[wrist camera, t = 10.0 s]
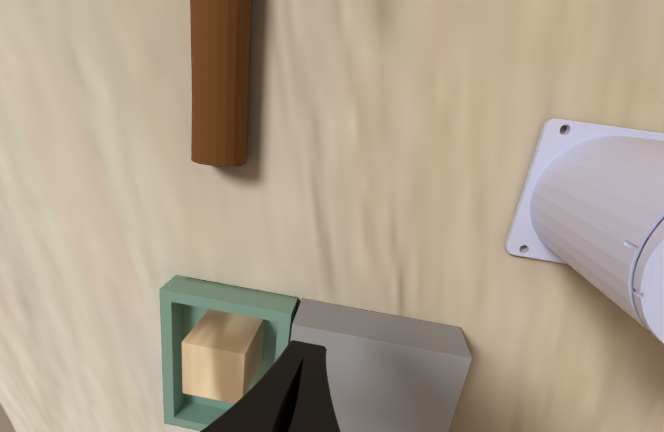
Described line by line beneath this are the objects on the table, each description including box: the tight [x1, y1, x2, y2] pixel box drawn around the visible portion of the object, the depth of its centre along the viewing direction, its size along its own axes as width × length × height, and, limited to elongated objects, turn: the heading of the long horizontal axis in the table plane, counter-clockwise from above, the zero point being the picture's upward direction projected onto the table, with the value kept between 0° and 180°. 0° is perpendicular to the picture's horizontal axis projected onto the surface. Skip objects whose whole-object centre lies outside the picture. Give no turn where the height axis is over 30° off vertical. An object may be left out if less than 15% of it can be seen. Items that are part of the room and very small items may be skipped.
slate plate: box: [290, 298, 472, 432], centre depth 24 cm, size 11×12×3 cm
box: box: [160, 275, 298, 431], centre depth 25 cm, size 9×12×2 cm
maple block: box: [182, 309, 265, 404], centre depth 23 cm, size 4×4×4 cm
